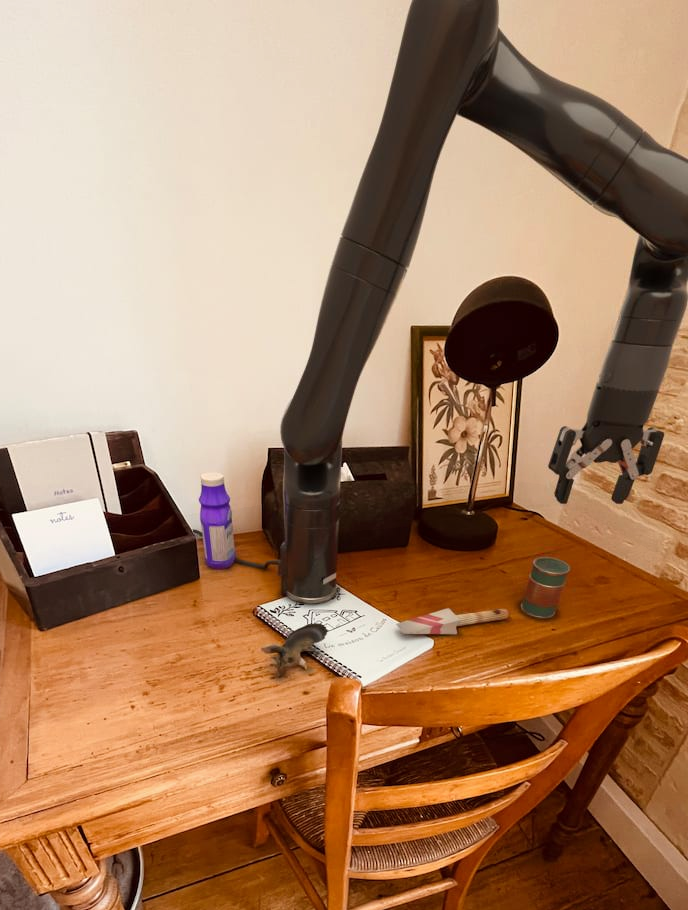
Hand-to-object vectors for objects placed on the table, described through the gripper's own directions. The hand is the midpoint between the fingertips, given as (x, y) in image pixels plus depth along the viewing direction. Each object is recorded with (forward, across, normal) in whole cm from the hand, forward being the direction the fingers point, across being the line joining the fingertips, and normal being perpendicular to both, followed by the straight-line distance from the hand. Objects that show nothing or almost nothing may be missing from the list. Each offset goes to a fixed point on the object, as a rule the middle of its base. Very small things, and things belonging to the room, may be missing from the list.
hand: (588, 502), depth 78 cm
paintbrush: (+21, +18, +2) cm, 28 cm away
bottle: (+21, +58, -22) cm, 65 cm away
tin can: (+21, +1, -3) cm, 21 cm away
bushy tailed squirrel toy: (+21, +44, +11) cm, 50 cm away
